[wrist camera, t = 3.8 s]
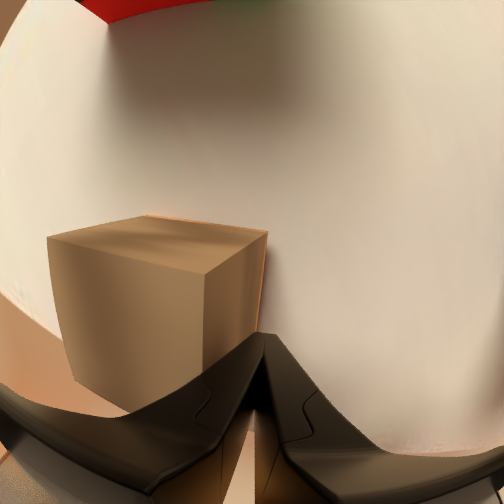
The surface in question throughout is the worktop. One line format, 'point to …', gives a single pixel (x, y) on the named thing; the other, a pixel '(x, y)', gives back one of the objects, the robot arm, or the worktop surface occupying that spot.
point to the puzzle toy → (128, 7)
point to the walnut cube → (153, 302)
